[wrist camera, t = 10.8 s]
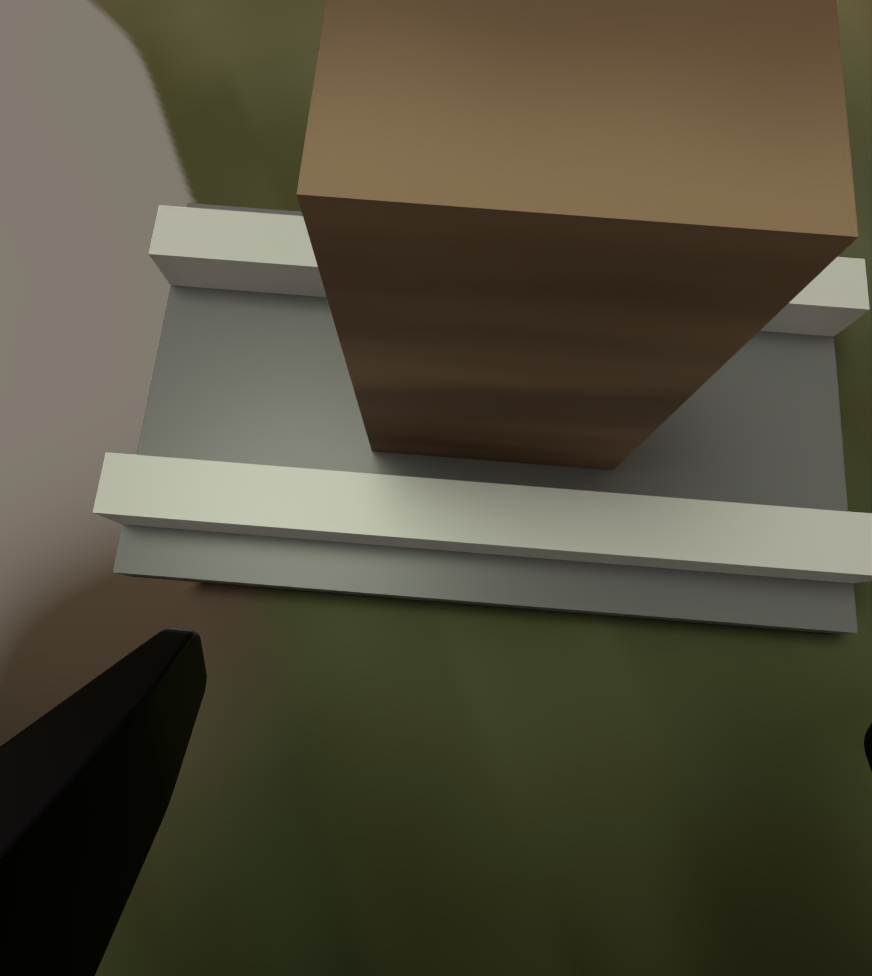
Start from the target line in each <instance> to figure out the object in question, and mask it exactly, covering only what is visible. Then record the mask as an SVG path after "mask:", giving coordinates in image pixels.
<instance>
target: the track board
mask: <svg viewBox="0 0 872 976" xmlns="http://www.w3.org/2000/svg"><path fill="white" fill-rule="evenodd" d="M149 255H150V257H151V258H152V259H153V261H154V262H155V264H156V265H157V266H158V268H159V269H160V271H161V272H162V273H163V275H164V276H165V278H166V279H167V280H168V282H169V283H170V284H171V288H170V292H169V297H168V302H167V307H166V312H165V318H164V322H163V327H162V332H161V337H160V342H159V347H158V352H157V356H156V361H155V366H154V371H153V376H152V381H151V386H150V391H149V396H148V401H147V406H146V411H145V416H144V420H143V426H142V430H141V435H140V440H139V445H138V450H137V455H133V454H120V453H107V452H106V454H105V459H104V463H103V467H102V472H101V477H100V481H99V486H98V491H97V495H96V500H95V504H94V509H93V513H95V514H98V515H100V516H103V517H106V518H108V519H110V520H113V521H115V522H118V523H121V524H122V529H121V534H120V539H119V544H118V549H117V553H116V558H115V563H114V568H113V572H114V573H118V574H123V575H127V576H131V577H144V578H156V579H169V580H181V581H193V582H205V583H217V584H230V585H242V586H254V587H266V588H279V589H291V590H303V591H315V592H328V593H340V594H352V595H364V596H377V597H389V598H401V599H414V600H426V601H438V602H450V603H463V604H475V605H487V606H499V607H512V608H524V609H536V610H548V611H561V612H573V613H585V614H598V615H610V616H622V617H634V618H647V619H659V620H671V621H683V622H696V623H708V624H720V625H732V626H745V627H757V628H769V629H782V630H794V631H806V632H818V633H831V634H840V633H858V632H857V619H856V607H855V594H854V583H860V582H867V581H872V513H859V512H848V507H847V494H846V482H845V469H844V457H843V444H842V431H841V419H840V406H839V394H838V381H837V369H836V356H835V344H834V336H835V335H837V334H838V333H839V332H841V331H842V330H843V329H845V328H846V327H847V326H849V325H850V324H851V323H852V322H854V321H855V320H856V319H858V318H859V317H860V316H862V315H863V314H864V313H866V312H867V311H868V310H869V299H868V288H867V278H866V268H865V259H857V258H844V257H837V258H836V259H835V260H833V261H832V262H831V263H830V264H829V265H828V266H827V267H826V268H825V269H824V270H823V271H822V272H821V273H820V274H819V275H818V276H817V277H816V278H815V279H813V280H812V281H811V282H810V283H809V284H808V285H807V286H806V287H805V288H804V289H803V290H802V291H801V292H800V293H799V294H798V295H797V296H796V297H795V298H794V299H792V300H791V301H790V302H789V303H788V304H787V305H786V306H785V307H784V308H783V309H782V310H781V311H780V312H779V313H778V314H777V315H776V316H775V317H774V318H773V319H771V320H770V321H769V322H768V323H767V324H766V325H765V326H764V327H763V328H762V329H761V330H760V331H759V332H758V333H757V334H756V335H755V336H754V337H753V338H752V339H750V340H749V341H748V342H747V343H746V344H745V345H744V346H743V347H742V348H741V349H740V350H739V351H738V352H737V353H736V354H735V355H734V356H733V357H732V358H731V359H729V360H728V361H727V362H726V363H725V364H724V365H723V366H722V367H721V368H720V369H719V370H718V371H717V372H716V373H715V374H714V375H713V376H712V377H711V378H710V379H708V380H707V381H706V382H705V383H704V384H703V385H702V386H701V387H700V388H699V389H698V390H697V391H696V392H695V393H694V394H693V395H692V396H691V397H690V398H689V399H687V400H686V401H685V402H684V403H683V404H682V405H681V406H680V407H679V408H678V409H677V410H676V411H675V412H674V413H673V414H672V415H671V416H670V417H669V418H668V419H666V420H665V421H664V422H663V423H662V424H661V425H660V426H659V427H658V428H657V429H656V430H655V431H654V432H653V433H652V434H651V435H650V436H649V437H648V438H647V439H645V440H644V441H643V442H642V443H641V444H640V445H639V446H638V447H637V448H636V449H635V450H634V451H633V452H632V453H631V454H630V455H629V456H628V457H627V458H626V459H624V460H623V461H622V462H621V463H620V464H619V465H618V466H617V467H616V468H615V469H614V470H602V469H590V468H577V467H564V466H552V465H539V464H526V463H514V462H501V461H488V460H476V459H463V458H451V457H438V456H425V455H413V454H400V453H387V452H375V451H372V450H371V447H370V443H369V440H368V436H367V433H366V430H365V426H364V423H363V419H362V416H361V413H360V409H359V406H358V402H357V399H356V396H355V392H354V389H353V385H352V382H351V378H350V375H349V372H348V368H347V365H346V361H345V358H344V355H343V351H342V348H341V344H340V341H339V337H338V334H337V331H336V327H335V324H334V320H333V317H332V314H331V310H330V307H329V303H328V300H327V297H326V293H325V290H324V286H323V283H322V279H321V276H320V273H319V269H318V266H317V262H316V259H315V256H314V252H313V249H312V245H311V242H310V238H309V235H308V232H307V228H306V225H305V221H304V218H303V215H302V212H298V211H285V210H272V209H259V208H246V207H233V206H219V205H206V204H193V203H188V204H187V207H177V206H164V205H159V208H158V212H157V217H156V222H155V227H154V231H153V236H152V240H151V245H150V249H149Z"/></svg>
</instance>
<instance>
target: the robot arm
mask: <svg viewBox="0 0 872 976" xmlns="http://www.w3.org/2000/svg"><path fill="white" fill-rule="evenodd" d="M206 680H207V675H206V668H205V662H204V656H203V650H202V644H201V639H200V636H199V634H198V632H196V631H194V630H189V629H177V628H166V629H164V630H162V631H160V632H159V633H157V634H156V635H155V636H153V637H152V638H150V639H149V640H147V641H146V642H145V643H143V644H142V645H140V646H139V647H138V648H136V649H135V650H134V651H132V652H131V653H129V654H128V655H127V656H125V657H124V658H123V659H121V660H120V661H118V662H117V663H115V664H114V665H113V666H111V667H110V668H109V669H107V670H106V671H104V672H103V673H102V674H100V675H99V676H97V677H96V678H95V679H93V680H92V681H90V682H89V683H88V684H86V685H85V686H83V687H82V688H81V689H79V690H78V691H76V692H75V693H74V694H72V695H71V696H69V697H68V698H67V699H65V700H64V701H63V702H61V703H60V704H58V705H57V706H56V707H54V708H53V709H52V710H50V711H49V712H47V713H46V714H44V715H43V716H42V717H40V718H39V719H38V720H36V721H35V722H33V723H32V724H31V725H29V726H28V727H26V728H25V729H24V730H22V731H21V732H19V733H18V734H17V735H15V736H14V737H13V738H11V739H10V740H8V741H7V742H6V743H4V744H3V745H1V746H0V976H95V974H96V971H97V969H98V967H99V965H100V962H101V960H102V958H103V955H104V953H105V951H106V949H107V946H108V944H109V942H110V939H111V937H112V935H113V932H114V930H115V928H116V926H117V923H118V921H119V919H120V916H121V914H122V912H123V910H124V907H125V905H126V903H127V900H128V898H129V896H130V893H131V891H132V889H133V887H134V884H135V882H136V880H137V877H138V875H139V873H140V871H141V868H142V866H143V864H144V861H145V859H146V857H147V854H148V852H149V850H150V848H151V845H152V843H153V841H154V838H155V836H156V834H157V832H158V829H159V827H160V825H161V822H162V820H163V817H164V815H165V812H166V810H167V807H168V805H169V802H170V799H171V796H172V793H173V790H174V787H175V784H176V781H177V778H178V775H179V772H180V768H181V765H182V762H183V759H184V756H185V753H186V749H187V746H188V743H189V740H190V737H191V733H192V730H193V727H194V724H195V721H196V718H197V714H198V711H199V708H200V705H201V702H202V699H203V695H204V692H205V687H206ZM864 748H865V753H866V756H867V759H868V762H869V765H870V768H871V771H872V723H871V725H870V727H869V728H868V730H867V732H866V734H865V738H864Z"/></svg>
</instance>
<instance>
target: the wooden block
mask: <svg viewBox="0 0 872 976" xmlns="http://www.w3.org/2000/svg"><path fill="white" fill-rule="evenodd" d="M297 197H298V201H299V204H300V208H301V211H302V215H303V218H304V221H305V225H306V228H307V232H308V235H309V238H310V242H311V245H312V249H313V252H314V256H315V259H316V262H317V266H318V269H319V273H320V276H321V279H322V283H323V286H324V290H325V293H326V297H327V300H328V303H329V307H330V310H331V314H332V317H333V320H334V324H335V327H336V331H337V334H338V337H339V341H340V344H341V348H342V351H343V355H344V358H345V361H346V365H347V368H348V372H349V375H350V378H351V382H352V385H353V389H354V392H355V396H356V399H357V402H358V406H359V409H360V413H361V416H362V419H363V423H364V426H365V430H366V433H367V436H368V440H369V443H370V447H371V450H372V451H375V452H387V453H400V454H413V455H425V456H438V457H451V458H463V459H476V460H488V461H501V462H514V463H526V464H539V465H552V466H564V467H577V468H590V469H602V470H614V469H615V468H616V467H617V466H618V465H619V464H620V463H621V462H622V461H623V460H624V459H626V458H627V457H628V456H629V455H630V454H631V453H632V452H633V451H634V450H635V449H636V448H637V447H638V446H639V445H640V444H641V443H642V442H643V441H644V440H645V439H647V438H648V437H649V436H650V435H651V434H652V433H653V432H654V431H655V430H656V429H657V428H658V427H659V426H660V425H661V424H662V423H663V422H664V421H665V420H666V419H668V418H669V417H670V416H671V415H672V414H673V413H674V412H675V411H676V410H677V409H678V408H679V407H680V406H681V405H682V404H683V403H684V402H685V401H686V400H687V399H689V398H690V397H691V396H692V395H693V394H694V393H695V392H696V391H697V390H698V389H699V388H700V387H701V386H702V385H703V384H704V383H705V382H706V381H707V380H708V379H710V378H711V377H712V376H713V375H714V374H715V373H716V372H717V371H718V370H719V369H720V368H721V367H722V366H723V365H724V364H725V363H726V362H727V361H728V360H729V359H731V358H732V357H733V356H734V355H735V354H736V353H737V352H738V351H739V350H740V349H741V348H742V347H743V346H744V345H745V344H746V343H747V342H748V341H749V340H750V339H752V338H753V337H754V336H755V335H756V334H757V333H758V332H759V331H760V330H761V329H762V328H763V327H764V326H765V325H766V324H767V323H768V322H769V321H770V320H771V319H773V318H774V317H775V316H776V315H777V314H778V313H779V312H780V311H781V310H782V309H783V308H784V307H785V306H786V305H787V304H788V303H789V302H790V301H791V300H792V299H794V298H795V297H796V296H797V295H798V294H799V293H800V292H801V291H802V290H803V289H804V288H805V287H806V286H807V285H808V284H809V283H810V282H811V281H812V280H813V279H815V278H816V277H817V276H818V275H819V274H820V273H821V272H822V271H823V270H824V269H825V268H826V267H827V266H828V265H829V264H830V263H831V262H832V261H833V260H835V259H836V258H837V257H838V256H839V255H840V254H841V253H842V252H843V251H844V250H845V249H846V248H847V247H848V246H849V245H850V244H851V243H852V242H853V241H854V240H856V239H857V238H858V229H857V218H856V208H855V197H854V187H853V176H852V166H851V155H850V144H849V134H848V123H847V113H846V102H845V91H844V81H843V70H842V60H841V49H840V39H839V28H838V17H837V7H836V0H327V1H326V7H325V14H324V20H323V27H322V33H321V40H320V46H319V53H318V59H317V66H316V72H315V78H314V85H313V91H312V98H311V104H310V111H309V117H308V124H307V130H306V137H305V143H304V150H303V156H302V163H301V169H300V175H299V182H298V188H297Z"/></svg>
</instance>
